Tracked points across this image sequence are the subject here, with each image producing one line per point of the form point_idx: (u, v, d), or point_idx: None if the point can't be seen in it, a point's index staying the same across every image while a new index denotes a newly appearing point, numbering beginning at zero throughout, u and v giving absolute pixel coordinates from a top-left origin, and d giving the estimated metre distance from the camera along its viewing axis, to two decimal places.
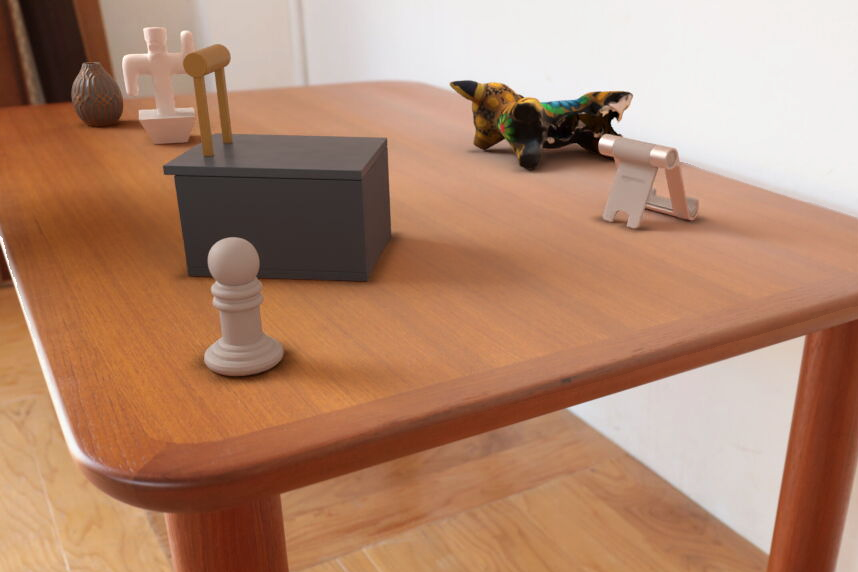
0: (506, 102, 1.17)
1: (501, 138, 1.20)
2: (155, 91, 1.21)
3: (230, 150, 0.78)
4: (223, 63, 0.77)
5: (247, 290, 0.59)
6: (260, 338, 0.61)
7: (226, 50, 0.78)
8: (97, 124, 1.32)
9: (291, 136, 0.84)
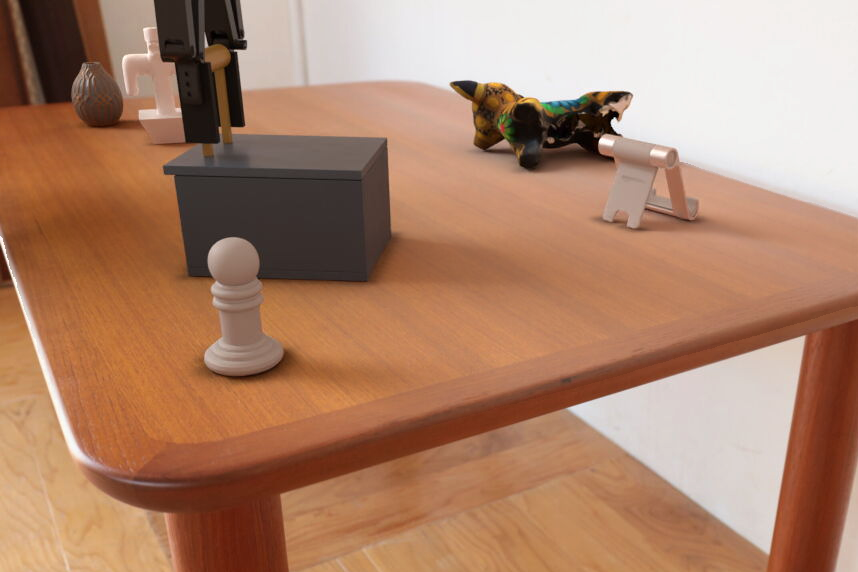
0: (505, 102, 1.17)
1: (501, 138, 1.20)
2: (155, 91, 1.21)
3: (230, 150, 0.78)
4: (223, 63, 0.77)
5: (247, 290, 0.59)
6: (260, 338, 0.61)
7: (226, 50, 0.78)
8: (97, 124, 1.32)
9: (291, 136, 0.84)
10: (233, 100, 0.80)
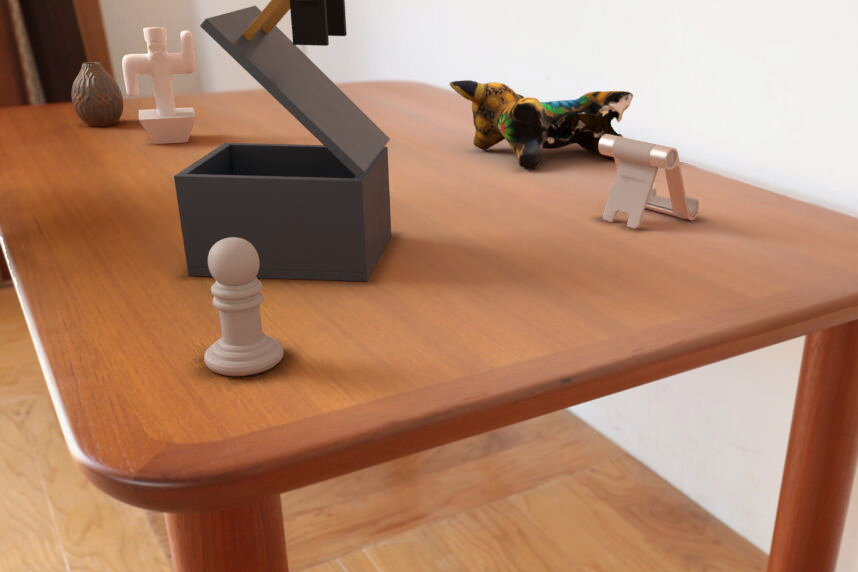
0: (505, 102, 1.17)
1: (501, 138, 1.20)
2: (155, 91, 1.21)
3: (265, 45, 0.75)
4: None
5: (247, 290, 0.59)
6: (260, 338, 0.61)
7: None
8: (97, 124, 1.32)
9: (317, 68, 0.81)
10: (336, 6, 0.76)
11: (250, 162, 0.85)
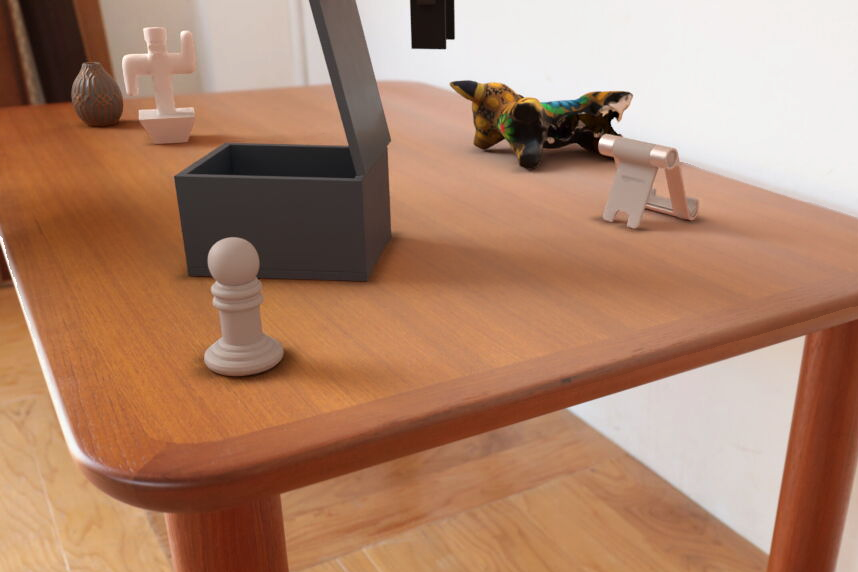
0: (505, 102, 1.17)
1: (501, 138, 1.20)
2: (155, 91, 1.21)
3: (339, 6, 0.73)
4: None
5: (247, 290, 0.59)
6: (260, 338, 0.61)
7: None
8: (97, 124, 1.32)
9: (365, 44, 0.80)
10: (447, 10, 0.76)
11: (250, 162, 0.85)
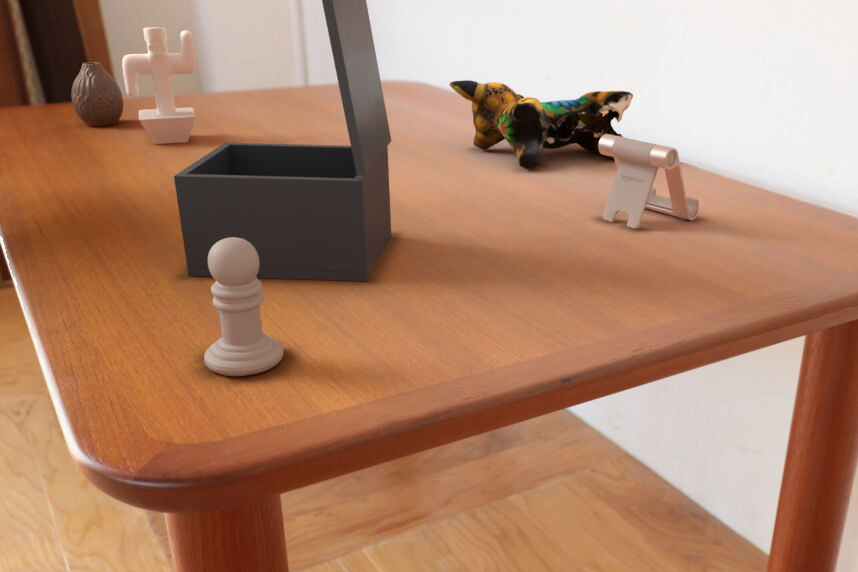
0: (505, 102, 1.17)
1: (501, 138, 1.20)
2: (155, 91, 1.21)
3: (350, 4, 0.73)
4: None
5: (247, 290, 0.59)
6: (260, 338, 0.61)
7: None
8: (97, 124, 1.32)
9: (372, 43, 0.80)
10: None
11: (250, 162, 0.85)
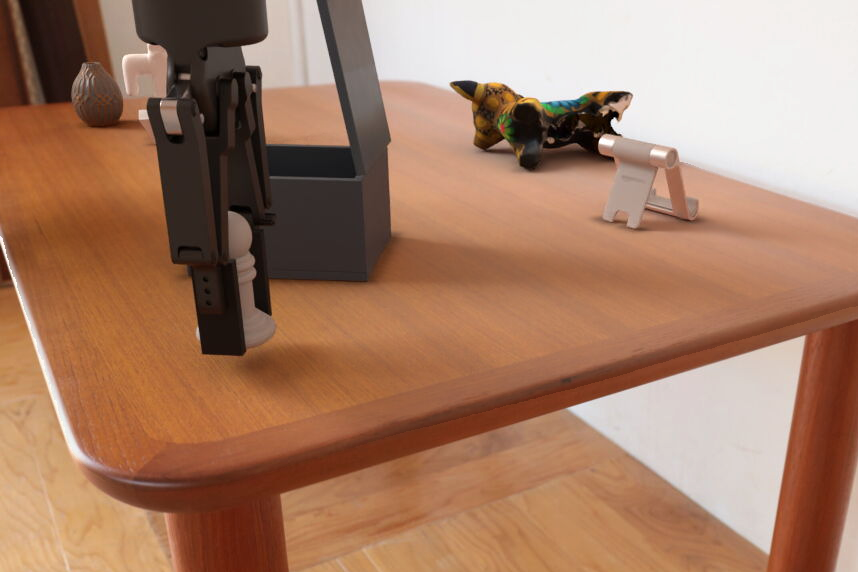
0: (505, 102, 1.17)
1: (501, 138, 1.20)
2: (155, 91, 1.21)
3: (345, 5, 0.73)
4: None
5: (239, 264, 0.58)
6: (253, 313, 0.61)
7: None
8: (97, 124, 1.32)
9: (369, 43, 0.80)
10: (258, 287, 0.63)
11: None
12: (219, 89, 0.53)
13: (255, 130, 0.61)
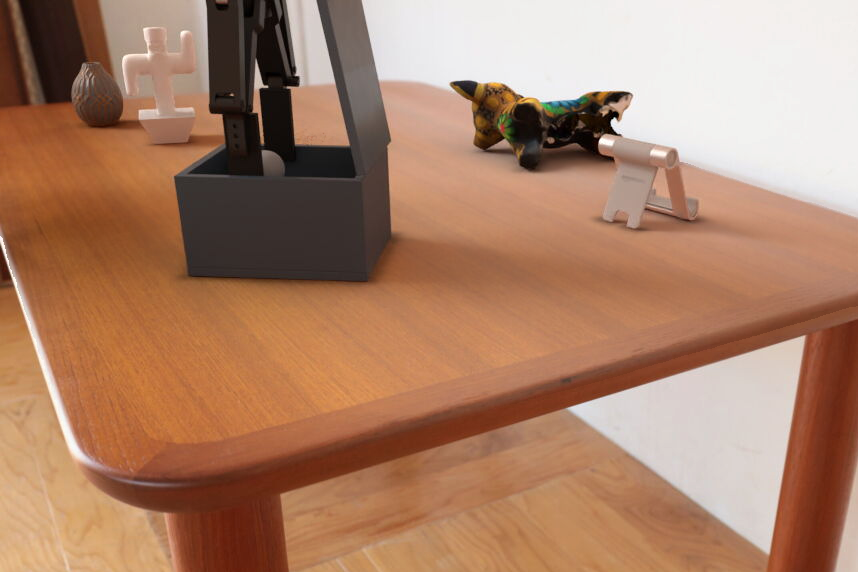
0: (505, 102, 1.17)
1: (501, 138, 1.20)
2: (155, 91, 1.21)
3: (345, 5, 0.73)
4: None
5: None
6: None
7: None
8: (97, 124, 1.32)
9: (369, 43, 0.80)
10: (286, 135, 0.83)
11: None
12: None
13: (281, 16, 0.79)
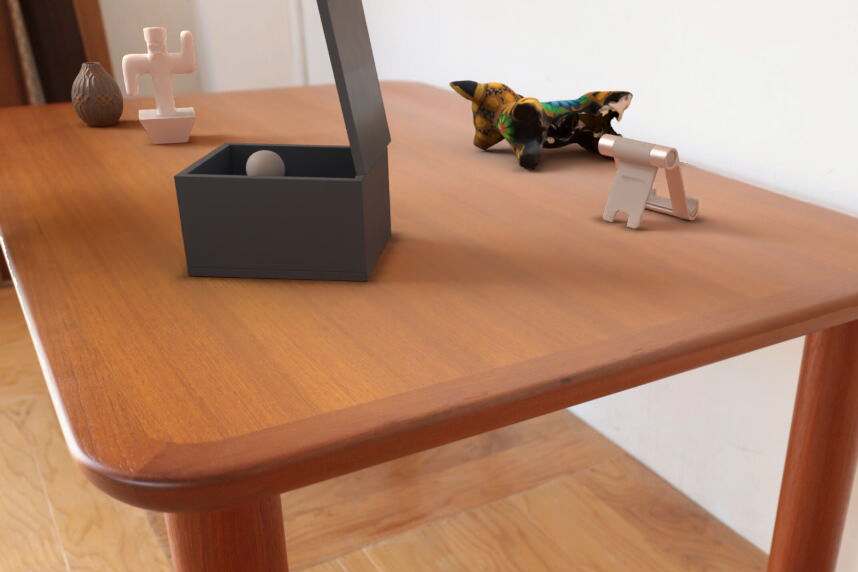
0: (505, 102, 1.17)
1: (501, 138, 1.20)
2: (155, 91, 1.21)
3: (345, 5, 0.73)
4: None
5: None
6: None
7: None
8: (97, 124, 1.32)
9: (369, 43, 0.80)
10: None
11: None
12: None
13: None
